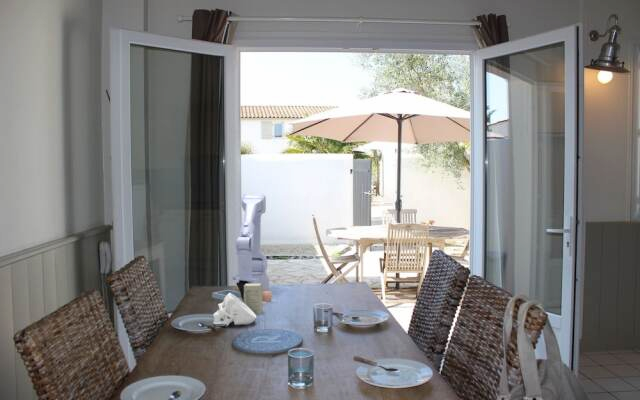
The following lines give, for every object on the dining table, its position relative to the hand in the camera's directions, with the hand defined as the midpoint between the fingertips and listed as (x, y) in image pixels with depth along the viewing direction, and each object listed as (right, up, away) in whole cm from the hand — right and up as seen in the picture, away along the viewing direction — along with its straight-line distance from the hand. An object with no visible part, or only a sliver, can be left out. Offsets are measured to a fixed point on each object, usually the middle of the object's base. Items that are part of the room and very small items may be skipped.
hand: (245, 299), depth 244 cm
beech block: (-3, 0, +13) cm, 13 cm away
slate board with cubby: (-1, -2, +5) cm, 6 cm away
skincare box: (+5, -4, -17) cm, 19 cm away
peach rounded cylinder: (+9, -1, +1) cm, 9 cm away
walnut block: (+3, -1, -2) cm, 4 cm away
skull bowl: (0, -4, -28) cm, 29 cm away
